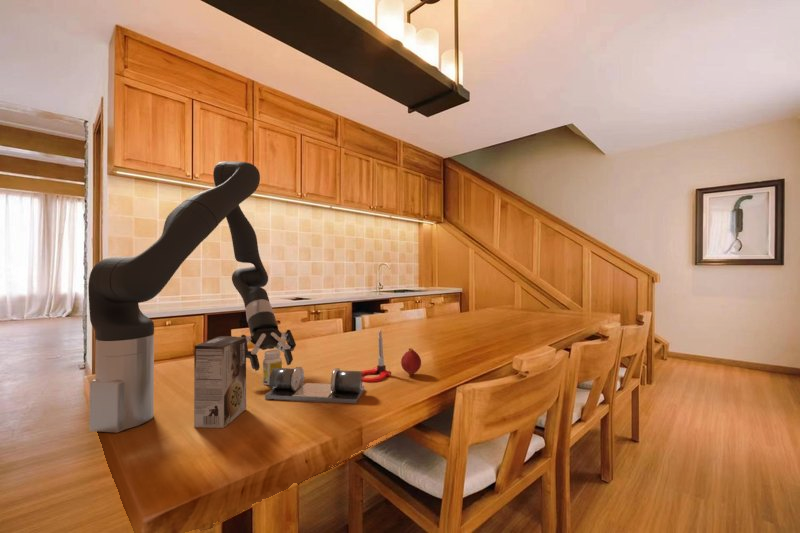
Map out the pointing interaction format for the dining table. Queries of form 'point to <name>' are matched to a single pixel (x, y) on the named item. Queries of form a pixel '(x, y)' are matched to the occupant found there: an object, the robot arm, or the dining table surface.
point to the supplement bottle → (270, 364)
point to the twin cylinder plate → (315, 386)
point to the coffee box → (219, 381)
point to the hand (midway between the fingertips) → (274, 366)
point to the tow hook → (381, 367)
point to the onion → (411, 362)
